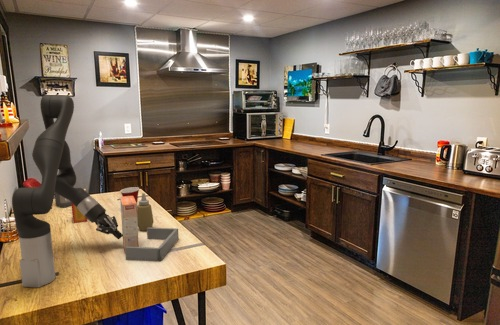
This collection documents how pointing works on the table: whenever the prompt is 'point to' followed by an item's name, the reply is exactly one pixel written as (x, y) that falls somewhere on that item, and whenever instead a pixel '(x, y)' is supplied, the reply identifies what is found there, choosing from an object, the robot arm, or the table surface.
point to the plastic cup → (130, 192)
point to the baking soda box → (77, 214)
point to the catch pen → (149, 252)
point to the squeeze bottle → (144, 214)
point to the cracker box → (129, 221)
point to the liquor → (61, 200)
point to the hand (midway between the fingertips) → (120, 237)
